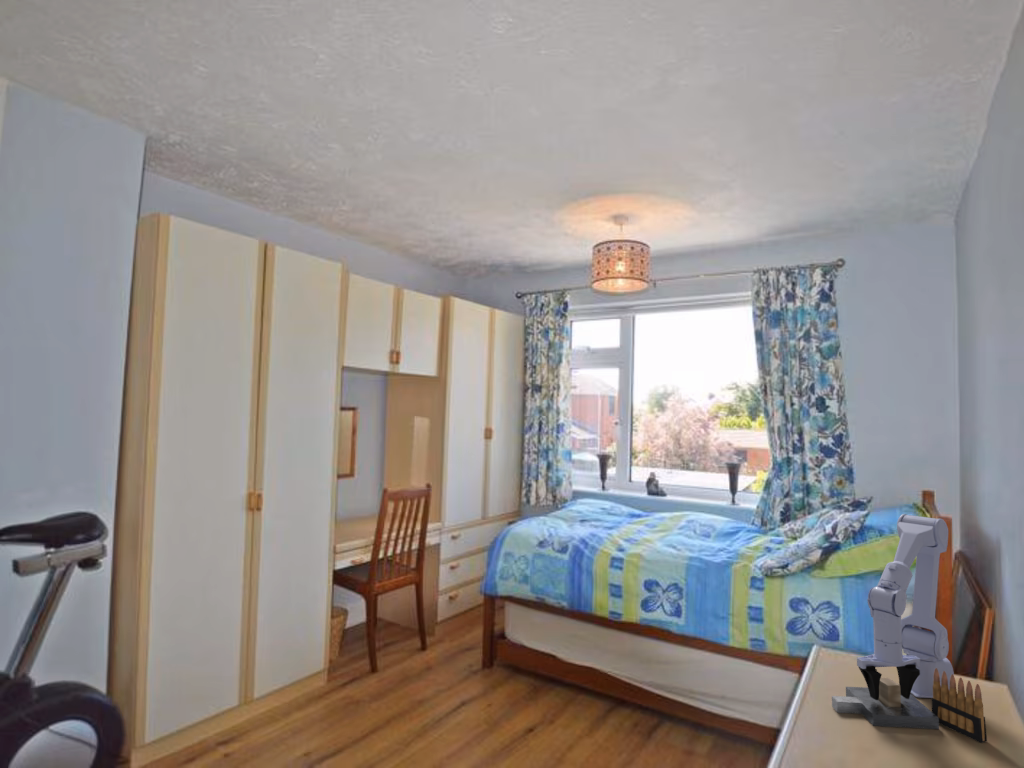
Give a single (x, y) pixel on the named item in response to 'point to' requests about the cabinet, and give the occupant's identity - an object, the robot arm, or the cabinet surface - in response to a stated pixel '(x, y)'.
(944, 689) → the ammunition clip
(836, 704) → the steel bracket head
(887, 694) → the oak wedge
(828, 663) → the cabinet surface
